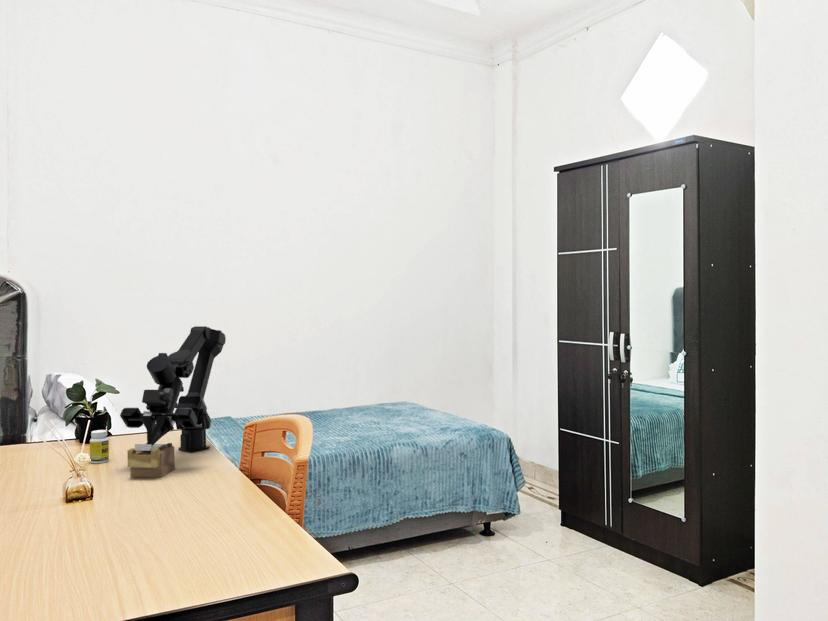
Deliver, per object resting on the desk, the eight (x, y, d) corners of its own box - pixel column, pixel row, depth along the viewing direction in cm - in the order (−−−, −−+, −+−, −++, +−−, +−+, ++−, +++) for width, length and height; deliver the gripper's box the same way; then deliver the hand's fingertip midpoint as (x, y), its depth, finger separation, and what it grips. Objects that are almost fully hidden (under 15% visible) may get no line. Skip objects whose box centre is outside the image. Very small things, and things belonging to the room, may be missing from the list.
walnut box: (145, 468, 180) (144, 441, 180) (174, 468, 179) (174, 441, 179) (126, 479, 170) (125, 450, 169) (157, 479, 169) (157, 450, 169)
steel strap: (151, 446, 179) (152, 440, 180) (166, 446, 179) (166, 440, 179) (134, 450, 170) (134, 444, 170) (150, 450, 170) (150, 444, 170)
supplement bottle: (103, 463, 185) (103, 432, 185) (86, 463, 185) (86, 433, 185) (112, 459, 190) (111, 429, 190) (95, 459, 190) (94, 429, 190)
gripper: (122, 377, 179) (101, 427, 168) (192, 377, 178) (175, 427, 167) (137, 402, 187) (117, 451, 176) (204, 402, 186) (188, 452, 175)
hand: (149, 445), depth 174 cm, fingers closed, pressing on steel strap
